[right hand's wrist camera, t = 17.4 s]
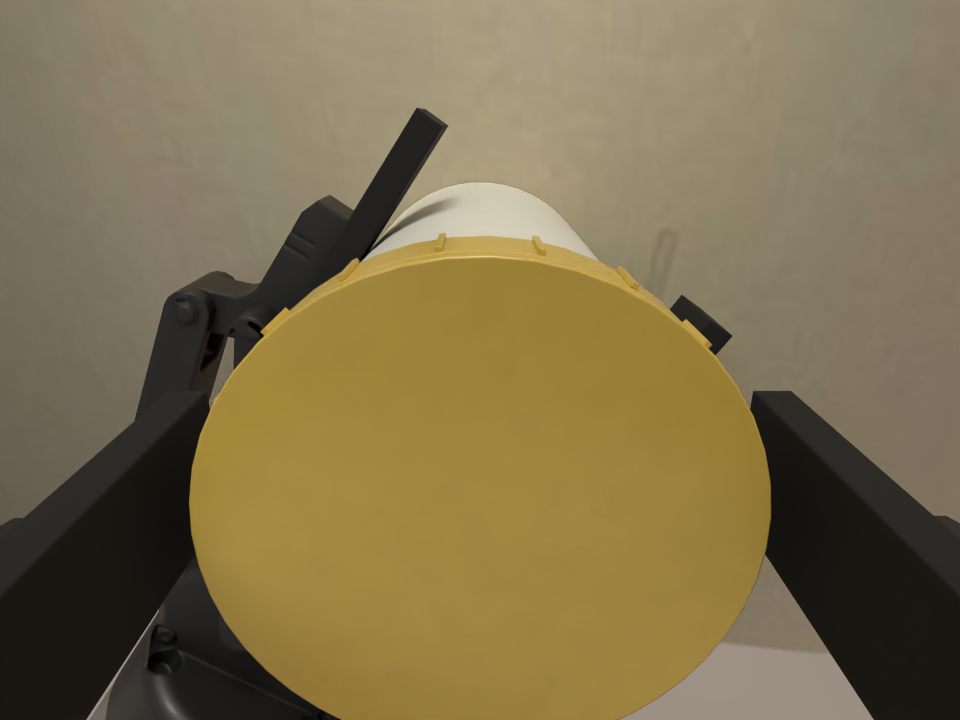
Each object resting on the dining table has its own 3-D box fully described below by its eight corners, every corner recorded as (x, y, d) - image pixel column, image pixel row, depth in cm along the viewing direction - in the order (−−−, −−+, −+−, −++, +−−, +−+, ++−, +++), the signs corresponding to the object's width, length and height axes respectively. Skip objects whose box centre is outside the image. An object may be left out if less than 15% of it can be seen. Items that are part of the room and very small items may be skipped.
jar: (355, 377, 26) (213, 669, 12) (386, 160, 23) (247, 221, 9) (561, 414, 27) (648, 736, 13) (617, 208, 24) (810, 333, 10)
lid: (694, 684, 14) (722, 756, 12) (250, 674, 14) (221, 746, 12) (780, 241, 10) (833, 263, 9) (195, 224, 10) (144, 242, 9)
